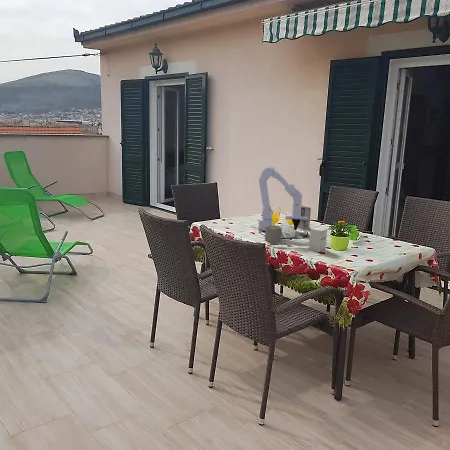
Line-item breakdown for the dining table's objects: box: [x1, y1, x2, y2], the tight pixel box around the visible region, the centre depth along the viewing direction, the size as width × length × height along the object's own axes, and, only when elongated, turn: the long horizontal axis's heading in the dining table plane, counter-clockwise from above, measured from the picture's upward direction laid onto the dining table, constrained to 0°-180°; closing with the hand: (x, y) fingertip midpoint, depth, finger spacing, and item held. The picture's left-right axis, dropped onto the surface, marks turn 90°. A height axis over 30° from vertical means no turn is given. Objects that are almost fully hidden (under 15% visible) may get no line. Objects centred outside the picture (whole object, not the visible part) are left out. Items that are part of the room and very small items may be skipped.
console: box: [281, 231, 304, 240], centre depth 303 cm, size 15×20×2 cm
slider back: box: [286, 224, 294, 232], centre depth 310 cm, size 3×3×4 cm
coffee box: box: [297, 205, 312, 230], centre depth 325 cm, size 9×6×16 cm
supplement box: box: [308, 227, 328, 253], centre depth 273 cm, size 7×7×13 cm
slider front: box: [290, 230, 296, 237], centre depth 296 cm, size 3×3×4 cm
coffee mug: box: [264, 224, 283, 246], centre depth 286 cm, size 13×10×10 cm
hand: (295, 230), depth 310 cm, fingers closed
